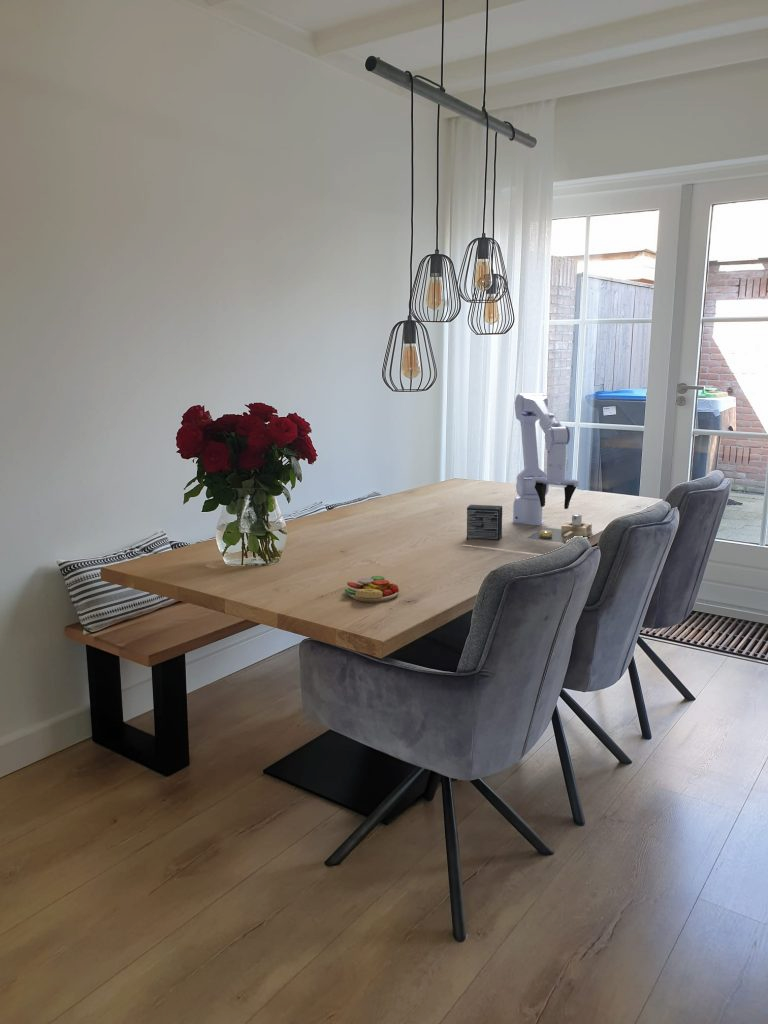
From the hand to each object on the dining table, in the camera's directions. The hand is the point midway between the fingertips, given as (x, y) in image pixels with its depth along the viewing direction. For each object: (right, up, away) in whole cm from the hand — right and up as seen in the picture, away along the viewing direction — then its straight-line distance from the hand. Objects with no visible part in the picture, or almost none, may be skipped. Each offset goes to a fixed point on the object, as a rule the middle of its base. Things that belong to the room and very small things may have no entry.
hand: (554, 507), depth 260 cm
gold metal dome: (-3, -9, -2) cm, 10 cm away
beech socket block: (+8, -8, +3) cm, 12 cm away
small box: (-22, -10, -1) cm, 25 cm away
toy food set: (-57, -22, -58) cm, 84 cm away
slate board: (+1, -9, +2) cm, 10 cm away
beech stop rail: (+3, -10, -5) cm, 12 cm away
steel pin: (+7, -8, +3) cm, 12 cm away
